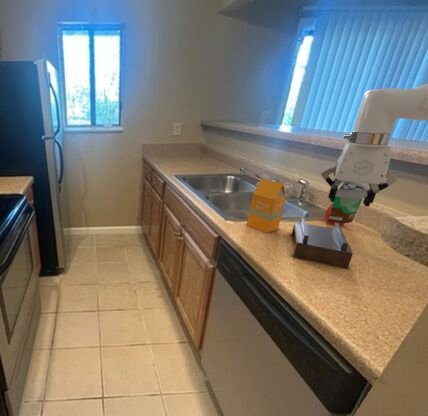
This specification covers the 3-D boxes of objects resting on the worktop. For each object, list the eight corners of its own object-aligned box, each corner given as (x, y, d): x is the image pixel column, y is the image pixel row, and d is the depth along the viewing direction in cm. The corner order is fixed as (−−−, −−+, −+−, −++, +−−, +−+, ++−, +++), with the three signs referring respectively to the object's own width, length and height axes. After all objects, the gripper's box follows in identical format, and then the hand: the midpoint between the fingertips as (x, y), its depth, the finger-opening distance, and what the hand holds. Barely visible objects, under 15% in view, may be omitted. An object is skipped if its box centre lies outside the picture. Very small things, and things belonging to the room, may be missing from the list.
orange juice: (257, 222, 118) (267, 177, 111) (278, 230, 111) (289, 182, 104) (246, 226, 115) (255, 180, 108) (266, 234, 108) (277, 185, 100)
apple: (352, 228, 111) (361, 203, 108) (331, 228, 112) (339, 204, 108) (336, 220, 119) (344, 197, 115) (317, 220, 119) (324, 197, 116)
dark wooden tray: (336, 244, 99) (343, 223, 96) (346, 270, 84) (355, 246, 81) (290, 235, 106) (296, 215, 103) (292, 258, 91) (298, 235, 88)
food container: (355, 228, 74) (367, 193, 71) (326, 222, 78) (337, 189, 75) (360, 216, 82) (371, 184, 78) (334, 211, 86) (344, 180, 83)
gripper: (330, 139, 73) (312, 202, 80) (422, 143, 65) (394, 212, 71) (325, 136, 79) (310, 194, 86) (409, 139, 71) (385, 203, 77)
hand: (348, 202), depth 78 cm, fingers closed on food container, 6 cm apart
